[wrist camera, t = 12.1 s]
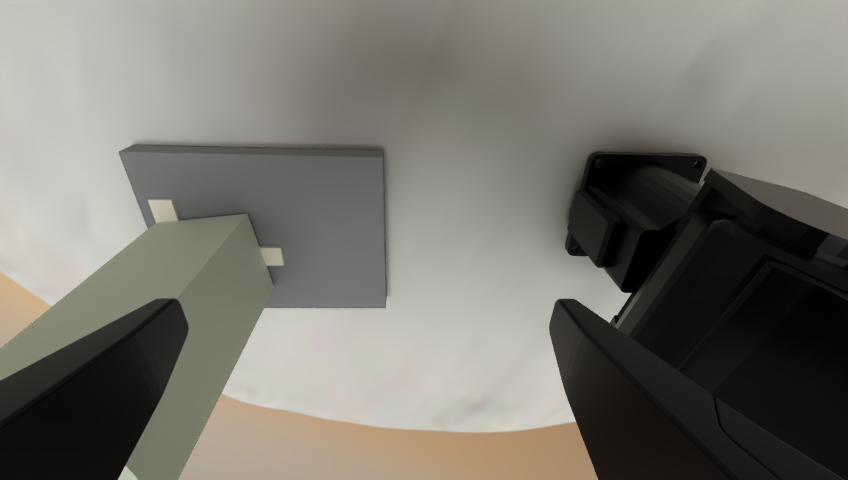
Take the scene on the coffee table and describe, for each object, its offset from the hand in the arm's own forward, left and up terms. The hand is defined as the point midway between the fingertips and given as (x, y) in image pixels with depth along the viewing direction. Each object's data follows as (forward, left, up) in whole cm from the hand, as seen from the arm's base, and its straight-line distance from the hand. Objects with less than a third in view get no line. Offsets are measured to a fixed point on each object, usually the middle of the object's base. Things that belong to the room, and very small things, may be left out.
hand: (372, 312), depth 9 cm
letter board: (+7, +5, -13) cm, 16 cm away
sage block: (+10, +6, -12) cm, 16 cm away
